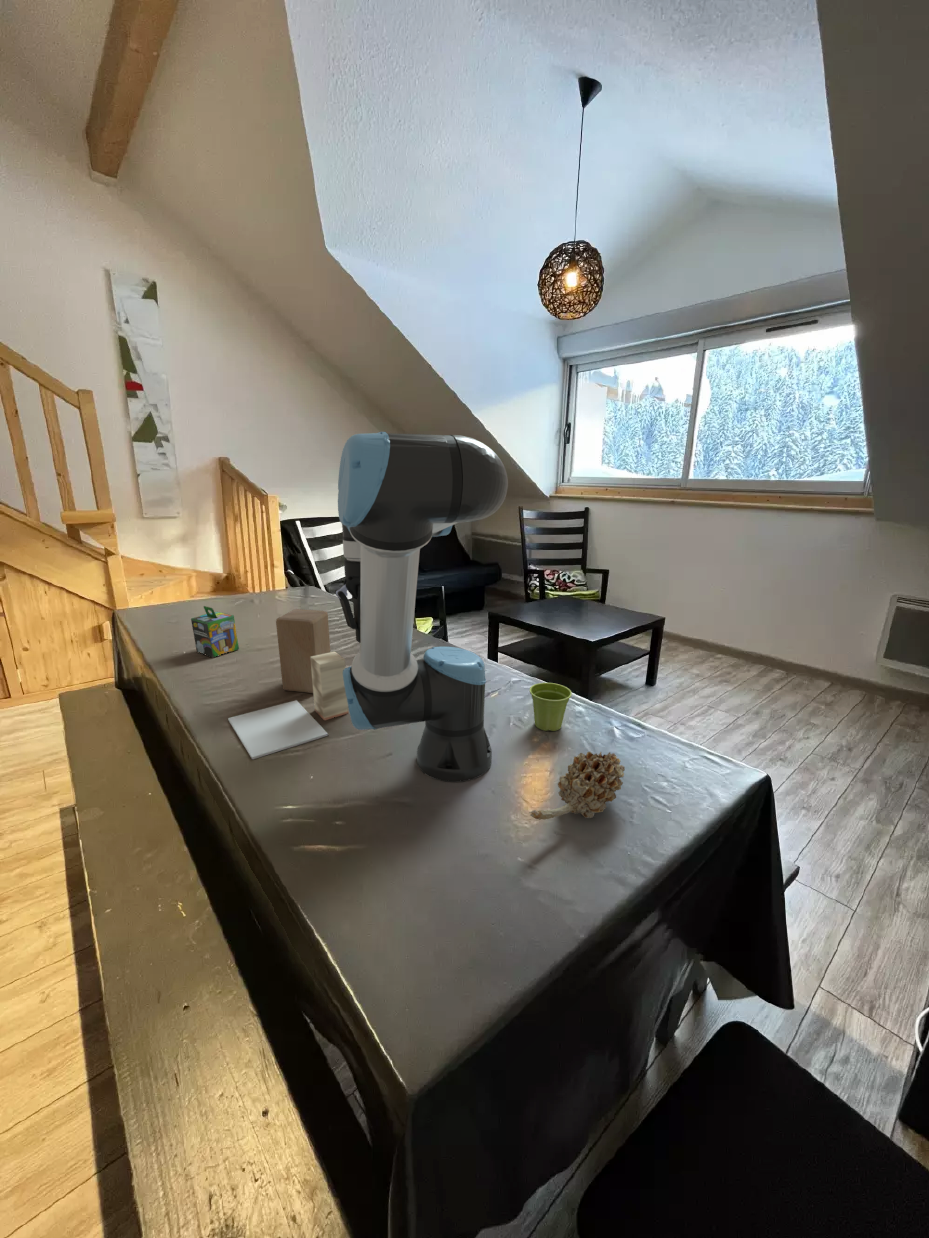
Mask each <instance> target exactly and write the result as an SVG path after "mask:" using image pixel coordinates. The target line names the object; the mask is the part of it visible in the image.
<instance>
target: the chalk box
mask: <svg viewBox="0 0 929 1238" xmlns="http://www.w3.org/2000/svg"><path fill="white" fill-rule="evenodd" d="M203 609H204V612H205V614H201V615H199V616H195V617H192V618H191V619H190V620H191V626H192V632H193V638H194V643H195V649H196V653H197V652H201V653H203V654H206V655H208V656H207V657H209V656H210V657H209V658H211V657H215V658H217V657H216V656H218V655H220V656H222V655H221V654H223V655H225V654H224V653H226V654H228V653H227V652H229V653H231V652H234V651H237V650H239V649H240V646H239V641H238V635H237V629H236V621H235V616H234V614H231V613H225V612H220V611H215V610H214V608H212V607H210V606H207V605H206V606H205V605H203ZM209 611H210V612H209ZM203 654H202V655H203ZM206 655H205V656H206ZM218 657H219V656H218Z"/></svg>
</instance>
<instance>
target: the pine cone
mask: <svg viewBox="0 0 929 1238" xmlns="http://www.w3.org/2000/svg"><path fill="white" fill-rule="evenodd" d="M625 769H626V768H625V766H624V765H623V764H621V759H620V758H618V755H616V753H614V752H613V753H611V751H609V752H608V753H607V754H603V755H602V751H600V752H599V753H593V752H591V751H587V753H586V754H585V753H583V752H580V753H579V754H577V756H573V762H572V763H570V764H568V766H567V772H565V774H564V775H560V776H559V778H558V779H559V781H558V782H557V786H558V789H559V790H560V791H558V795H559V797H560V798H561V799H560V800H561V801H563V802H564V803H565V804H564V805H562V806H561V807H557V808H553V809H547V810H539V809H538V810H537V809H534V810H532V811H530V812H528V814H530V815H529V816H530V817H532V818H533V819H536V820H538V821H540V820H541V821H542V820H544V821H545V820H550V819H553V818H556V817H560V816H563V815H565V814H566V815H567V814H568V813H572V814H574V815H577V814H581V815H582V816H583V817H584V818H586V819H588V818H590V819H593V817H595V814H597V813H602V812H604V810H605V809H607V804H606V803H608V802H611V803H612V802H613V801H614V800H615V799H617V794H616V791H620V790H622V786H623V784H624V782H623V781H622V779H621V778H623V777H624V775H625V772H624V771H625Z"/></svg>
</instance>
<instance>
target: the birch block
mask: <svg viewBox="0 0 929 1238" xmlns="http://www.w3.org/2000/svg"><path fill="white" fill-rule="evenodd" d="M310 659H311V671H312V683H313V693H312V695H313V704H314V706H313V707H314V711H315V712H316V713H317V715H318V716H319V717H320V719H321V718H322V720H323V721H328V720H331V719H334V717H335V718H338V717H341V716H344V715H347V714H349V708H348V702H347V697H346V692H345V686H344V680H343V670H344V669H345V668H347V667H346V658H344V657H343V656H341V655H340V654H339V653H337V652H336V651H330V653H325V654H321V655H316V656H311V657H310Z"/></svg>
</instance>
